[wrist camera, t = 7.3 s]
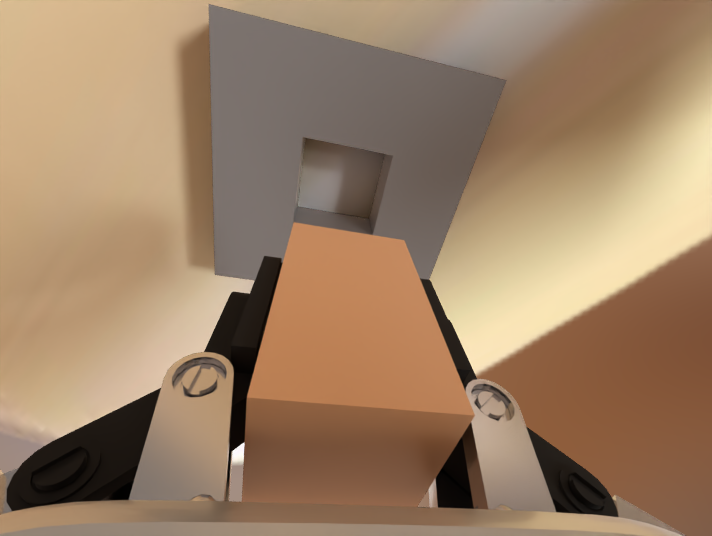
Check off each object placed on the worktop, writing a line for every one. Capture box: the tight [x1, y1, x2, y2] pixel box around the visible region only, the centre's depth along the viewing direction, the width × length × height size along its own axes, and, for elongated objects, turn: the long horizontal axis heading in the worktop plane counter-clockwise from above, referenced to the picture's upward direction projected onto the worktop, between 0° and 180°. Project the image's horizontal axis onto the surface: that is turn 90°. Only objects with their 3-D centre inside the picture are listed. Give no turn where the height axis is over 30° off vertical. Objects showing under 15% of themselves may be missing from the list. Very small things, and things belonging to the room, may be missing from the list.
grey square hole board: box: [209, 4, 506, 280], centre depth 22 cm, size 16×16×3 cm
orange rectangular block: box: [242, 222, 475, 507], centre depth 10 cm, size 4×4×7 cm
